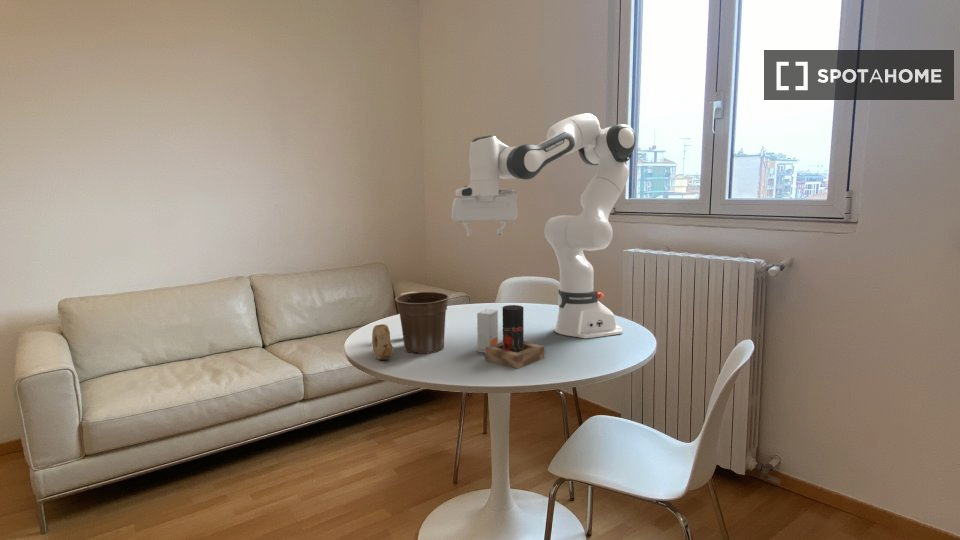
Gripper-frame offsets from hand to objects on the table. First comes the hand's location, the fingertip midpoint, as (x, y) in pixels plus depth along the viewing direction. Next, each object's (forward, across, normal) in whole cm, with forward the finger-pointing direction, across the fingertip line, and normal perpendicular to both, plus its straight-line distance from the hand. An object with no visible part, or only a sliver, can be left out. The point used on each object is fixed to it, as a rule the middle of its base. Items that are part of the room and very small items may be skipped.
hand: (485, 235), depth 167 cm
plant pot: (+34, +20, +2) cm, 40 cm away
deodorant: (+34, -4, +18) cm, 39 cm away
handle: (+34, +23, -10) cm, 42 cm away
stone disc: (+34, +33, +10) cm, 48 cm away
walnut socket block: (+34, -5, +18) cm, 39 cm away
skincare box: (+34, +1, +8) cm, 35 cm away
